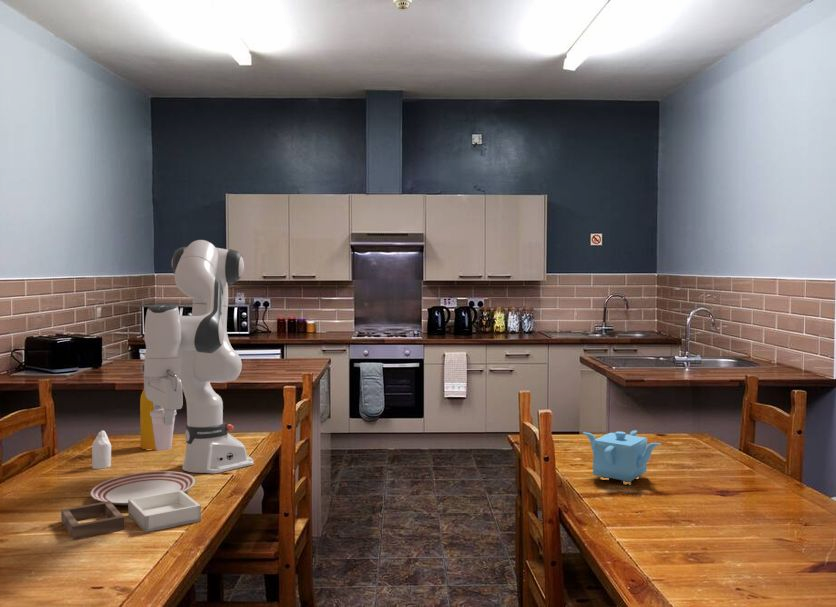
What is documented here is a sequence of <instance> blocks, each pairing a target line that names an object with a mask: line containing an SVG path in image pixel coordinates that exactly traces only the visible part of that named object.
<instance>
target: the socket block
mask: <svg viewBox="0 0 836 607" xmlns="http://www.w3.org/2000/svg"><path fill="white" fill-rule="evenodd" d="M60 512H61V514H60V517H61V520H60V521H62V522H61V523H62V524H63V526H64V528H65V530H66V531H67V533H68V534H69V535H70V537H71V539H72V541H73V540H77V538H79V539H83V537H84V538H88V536H89V537H93V535H94V536H98V534H99V535H103V534H108V533H112V532H118V531H123V530H125V516H124V515H123V514H122V513H121V512H120V511H119V509H118V508H117V507H116V506H115V504H112V503H111V502H110V501H107V502H101V501H100V502H96V503H90V504H85V505H80V506H74V507H69V508H63V509H61V511H60ZM101 515H102V516H105V517H106V518H103V519H97V520H93V521H86V522H81V523H79V522H78V521H79V520H85V519H91V518H90V517H92V518H95V516H97V517H101ZM122 529H123V530H122Z"/></svg>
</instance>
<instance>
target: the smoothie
mask: <svg viewBox="0 0 836 607" xmlns="http://www.w3.org/2000/svg"><path fill="white" fill-rule="evenodd" d="M176 415H177V409H176V410H175V412H174V415H173V423H172V424H171V425H166V424H164V417H165V411H164V409H157V410H153V411H151V412H150V416H151V417H152V425H153V432H154V439H155V446H156V450H155V451H168V450H171V449H172V444H173V438H174V437H173V435H174V428H175V420H176Z"/></svg>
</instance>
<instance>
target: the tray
mask: <svg viewBox="0 0 836 607" xmlns="http://www.w3.org/2000/svg"><path fill="white" fill-rule="evenodd" d="M201 505H202V504H200V503H199V502H197V501H196V500H195V499H193V498H192V497H191V496H190V495H188V494H187V493H186V492H183V491H182V490H178V491H172V492H167V493H161V494H156V495H150V496H145V497H139V498H133V499H128V506H127V507H128V508H127V509H128V514H129V515H130V516H131V517H132V518H131V517H130V516H129V515H128V514H127V515H128V516H129V517H130V518H131V519H132V520H133V521H134V522H135V524H136V525H137V526H139V528H140V527H141V528H142V529H143V530H144V531H143V530H142V529H141V528H140V529H141V530H142V531H143V532H144V533H145V532H146V533H149V532H150V531H151V532H154V531H155V530H156V531H160V530H164V529H169V528H174V527H179V526H183V525H190V524H193V523H198V522H201V521H202V506H201Z"/></svg>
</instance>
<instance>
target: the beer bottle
mask: <svg viewBox="0 0 836 607" xmlns="http://www.w3.org/2000/svg"><path fill="white" fill-rule="evenodd" d="M139 400H140V401H139V403H140V404H139V405H140V406H139V410H140V412H139V413H140V414H139V415H140V418H139V419H140V420H139V421H140V426H139V427H140V432H139V433H140V442H139V444H140V449H141V448H142V449H141V450H143V449H156V446H155V439H154V432H153V425H152V417H151V416H150V412H151V411H153V410H154V407H153V402H152V401H150V400H148V399H147V398H146V395H145V388H144V387H143V390H142V392H141V394H140V399H139ZM162 409H164V407H162Z"/></svg>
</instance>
